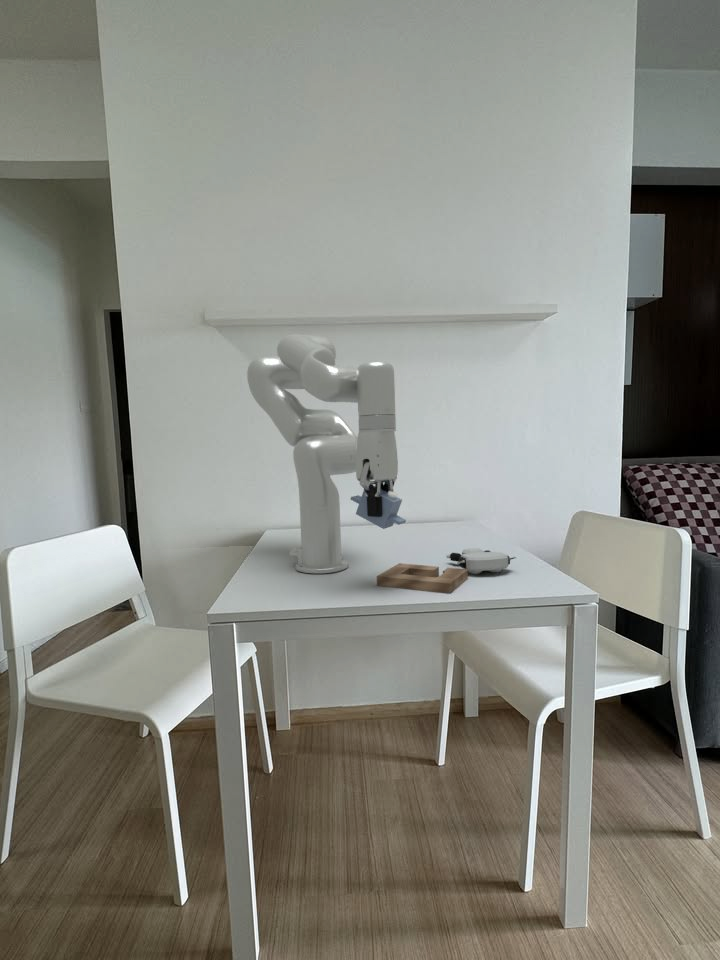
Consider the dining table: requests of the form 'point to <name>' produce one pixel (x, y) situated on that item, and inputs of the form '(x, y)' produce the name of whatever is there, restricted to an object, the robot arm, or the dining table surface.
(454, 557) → the robot toy
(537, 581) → the dining table surface
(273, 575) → the dining table surface
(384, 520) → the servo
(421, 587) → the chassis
